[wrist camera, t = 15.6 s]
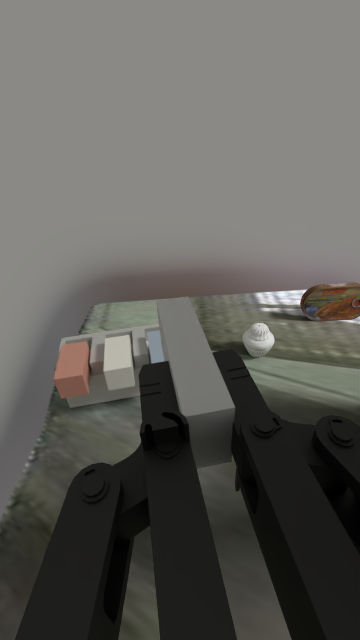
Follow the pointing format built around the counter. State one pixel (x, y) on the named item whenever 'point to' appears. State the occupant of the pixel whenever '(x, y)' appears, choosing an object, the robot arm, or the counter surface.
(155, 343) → the blue-grey rectangular block
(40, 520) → the counter surface
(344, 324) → the counter surface
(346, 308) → the tin
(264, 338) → the muffin
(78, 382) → the terracotta key
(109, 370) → the ivory key
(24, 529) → the counter surface
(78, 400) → the grey slotted rack
